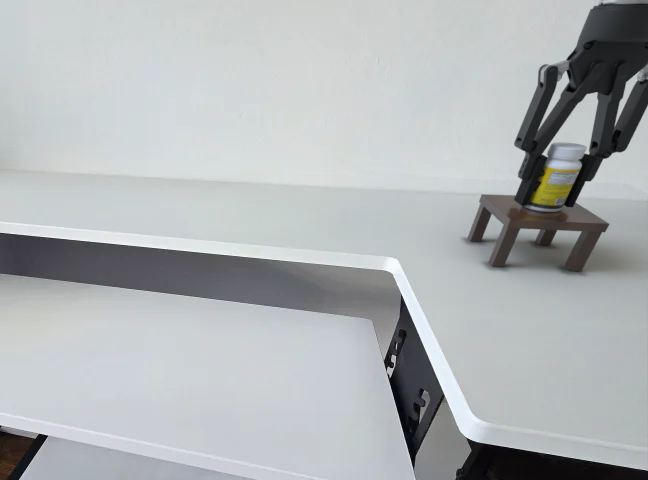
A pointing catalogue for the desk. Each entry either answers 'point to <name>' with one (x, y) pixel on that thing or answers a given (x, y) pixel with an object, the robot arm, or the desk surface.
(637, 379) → the desk surface
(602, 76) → the robot arm
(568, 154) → the supplement bottle
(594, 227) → the small wooden table
